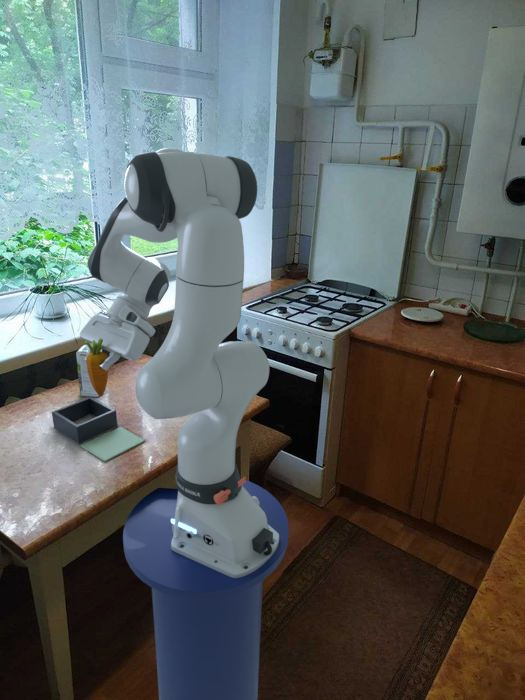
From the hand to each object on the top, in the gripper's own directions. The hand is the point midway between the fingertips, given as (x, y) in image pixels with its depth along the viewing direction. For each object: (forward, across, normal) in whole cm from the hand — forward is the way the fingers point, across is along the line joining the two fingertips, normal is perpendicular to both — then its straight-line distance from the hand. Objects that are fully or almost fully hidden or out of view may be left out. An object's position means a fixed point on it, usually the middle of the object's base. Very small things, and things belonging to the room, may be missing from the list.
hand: (95, 365), depth 119 cm
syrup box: (+5, -25, +24) cm, 35 cm away
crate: (+14, -9, +15) cm, 23 cm away
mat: (+14, +3, +15) cm, 21 cm away
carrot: (+6, 0, +6) cm, 9 cm away
